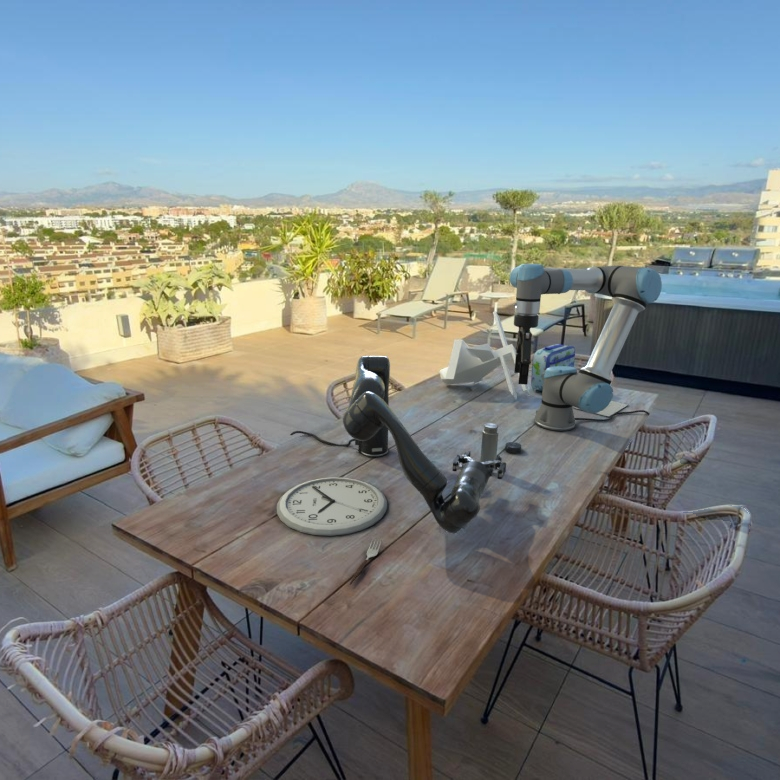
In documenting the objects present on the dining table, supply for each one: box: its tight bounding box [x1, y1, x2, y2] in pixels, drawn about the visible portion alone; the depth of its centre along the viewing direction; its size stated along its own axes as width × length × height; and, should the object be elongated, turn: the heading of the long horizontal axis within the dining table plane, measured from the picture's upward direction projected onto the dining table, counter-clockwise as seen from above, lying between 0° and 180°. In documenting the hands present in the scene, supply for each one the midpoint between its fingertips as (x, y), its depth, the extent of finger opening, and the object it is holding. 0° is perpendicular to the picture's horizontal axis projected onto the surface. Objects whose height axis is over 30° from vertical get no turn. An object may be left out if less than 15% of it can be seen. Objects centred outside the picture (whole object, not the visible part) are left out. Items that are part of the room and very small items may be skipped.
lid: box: [504, 441, 522, 455], centre depth 180 cm, size 5×5×2 cm
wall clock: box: [276, 476, 388, 537], centre depth 142 cm, size 30×2×30 cm
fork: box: [349, 538, 383, 585], centre depth 117 cm, size 3×16×2 cm, turn 160°
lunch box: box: [530, 343, 576, 392], centre depth 248 cm, size 26×11×21 cm, turn 134°
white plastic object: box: [438, 310, 531, 400], centre depth 245 cm, size 37×45×31 cm
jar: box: [479, 422, 499, 467], centre depth 162 cm, size 5×5×15 cm
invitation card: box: [573, 400, 629, 418], centre depth 226 cm, size 21×1×15 cm
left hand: (483, 456), depth 152 cm, fingers open, 8 cm apart
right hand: (520, 378), depth 172 cm, fingers open, 13 cm apart
